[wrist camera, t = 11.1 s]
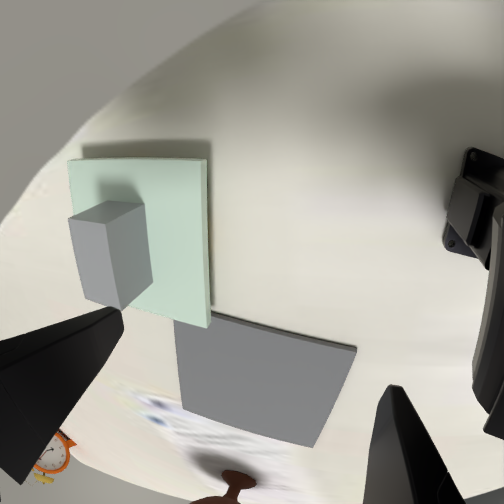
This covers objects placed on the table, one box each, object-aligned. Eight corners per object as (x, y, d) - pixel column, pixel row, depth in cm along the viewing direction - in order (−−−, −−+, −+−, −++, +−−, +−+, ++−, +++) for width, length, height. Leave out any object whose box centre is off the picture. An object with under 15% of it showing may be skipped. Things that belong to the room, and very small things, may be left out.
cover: (206, 159, 18) (162, 174, 14) (211, 322, 23) (182, 363, 19) (74, 159, 21) (28, 173, 17) (95, 289, 26) (60, 316, 22)
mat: (357, 347, 22) (356, 352, 21) (313, 444, 29) (312, 447, 28) (175, 301, 25) (172, 304, 25) (184, 405, 32) (182, 408, 32)
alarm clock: (81, 448, 61) (43, 496, 44) (77, 449, 64) (41, 494, 47) (45, 414, 60) (3, 460, 43) (43, 417, 63) (4, 460, 46)
